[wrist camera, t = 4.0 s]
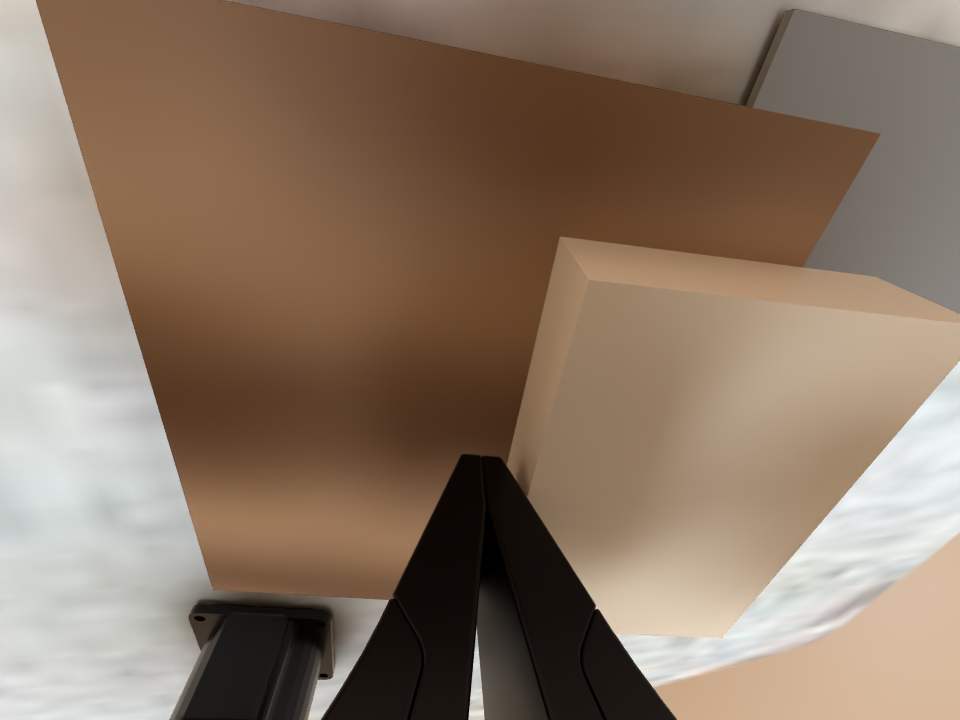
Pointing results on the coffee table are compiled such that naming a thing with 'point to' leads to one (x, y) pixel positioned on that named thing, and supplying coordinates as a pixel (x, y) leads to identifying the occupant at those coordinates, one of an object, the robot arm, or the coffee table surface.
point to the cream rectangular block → (709, 419)
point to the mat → (879, 145)
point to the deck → (379, 250)
